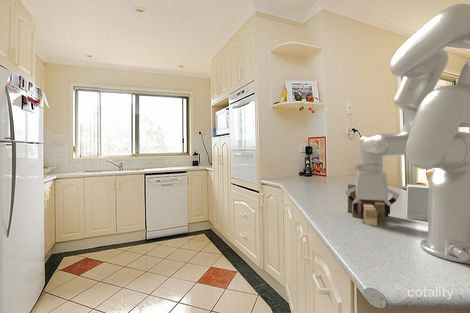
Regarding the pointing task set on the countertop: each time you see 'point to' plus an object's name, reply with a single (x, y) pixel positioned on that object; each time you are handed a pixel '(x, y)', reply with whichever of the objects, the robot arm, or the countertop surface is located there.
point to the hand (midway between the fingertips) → (371, 214)
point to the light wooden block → (369, 214)
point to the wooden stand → (377, 205)
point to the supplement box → (417, 202)
